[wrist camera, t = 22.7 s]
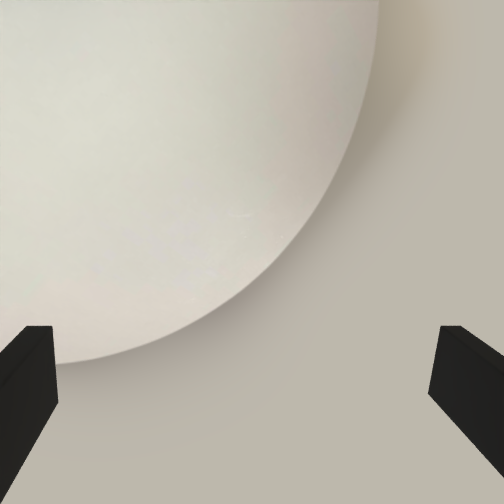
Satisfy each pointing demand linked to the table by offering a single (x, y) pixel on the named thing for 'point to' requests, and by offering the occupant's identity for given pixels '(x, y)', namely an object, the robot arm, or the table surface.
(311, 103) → the table surface
